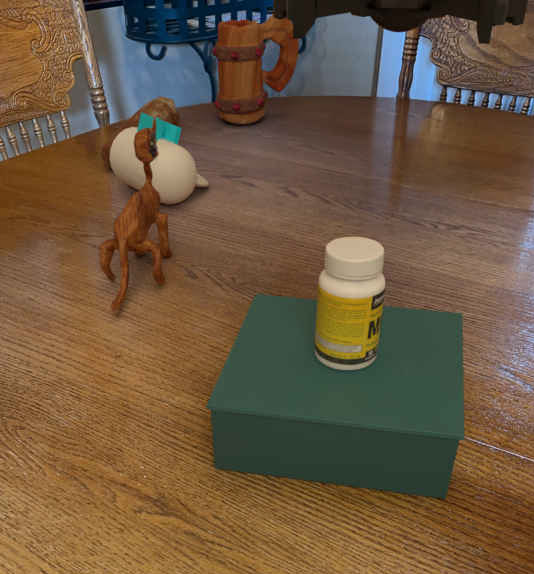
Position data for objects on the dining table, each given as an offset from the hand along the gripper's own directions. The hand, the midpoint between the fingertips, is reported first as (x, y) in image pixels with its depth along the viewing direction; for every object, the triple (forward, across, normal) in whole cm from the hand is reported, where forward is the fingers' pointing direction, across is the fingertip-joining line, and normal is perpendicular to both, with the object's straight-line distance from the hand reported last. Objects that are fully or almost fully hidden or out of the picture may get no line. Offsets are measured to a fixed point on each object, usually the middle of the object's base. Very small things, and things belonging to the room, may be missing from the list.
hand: (391, 19), depth 50 cm
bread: (-46, +37, -25) cm, 64 cm away
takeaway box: (+14, 0, -25) cm, 29 cm away
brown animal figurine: (-6, +24, -25) cm, 36 cm away
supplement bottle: (+14, 0, -20) cm, 24 cm away
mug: (-66, +24, -25) cm, 74 cm away
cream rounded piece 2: (-31, +28, -25) cm, 49 cm away
